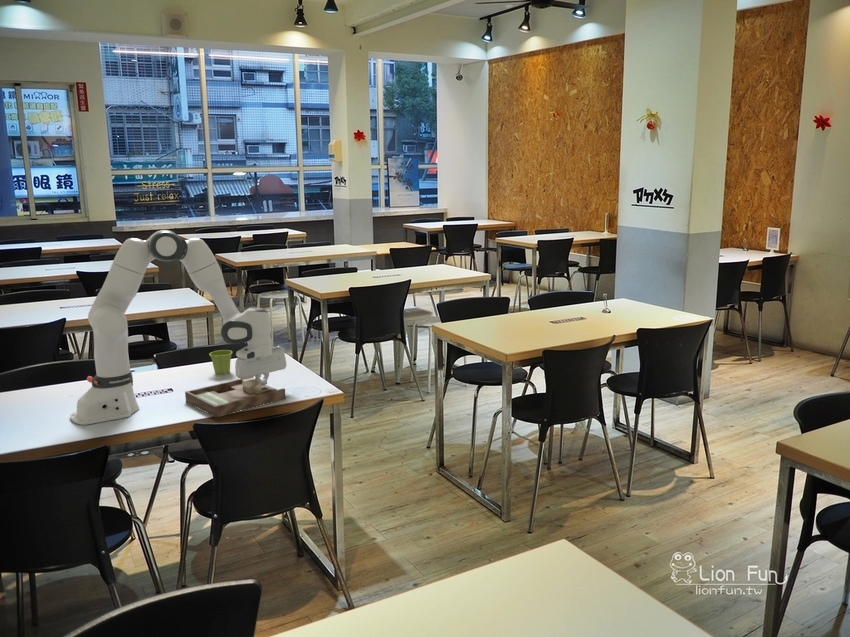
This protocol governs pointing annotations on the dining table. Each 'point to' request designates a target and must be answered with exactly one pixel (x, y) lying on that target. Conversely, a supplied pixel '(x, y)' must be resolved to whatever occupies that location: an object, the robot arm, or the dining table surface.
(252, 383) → the cream block
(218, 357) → the plant pot
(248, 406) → the box
